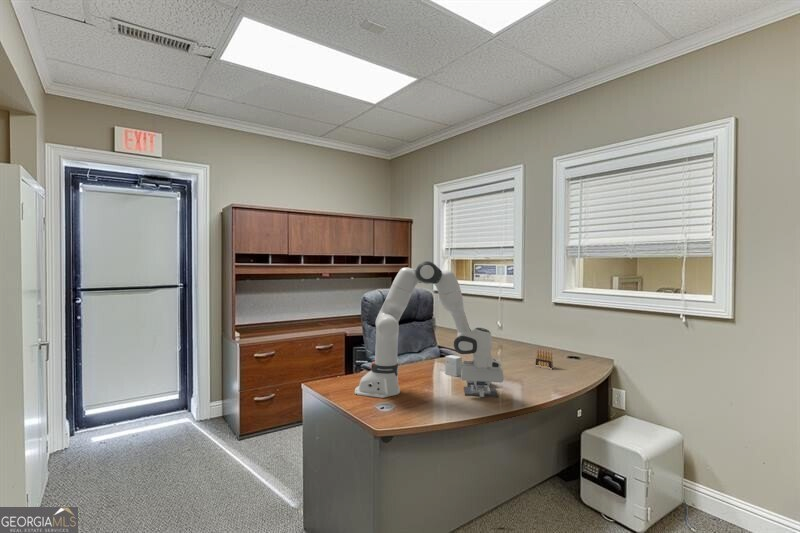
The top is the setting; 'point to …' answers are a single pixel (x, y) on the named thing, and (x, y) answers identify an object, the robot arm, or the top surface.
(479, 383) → the vise
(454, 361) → the small box
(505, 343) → the top surface
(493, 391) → the pad
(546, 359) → the ammunition clip
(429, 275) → the robot arm
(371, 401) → the top surface
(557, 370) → the top surface
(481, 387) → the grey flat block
